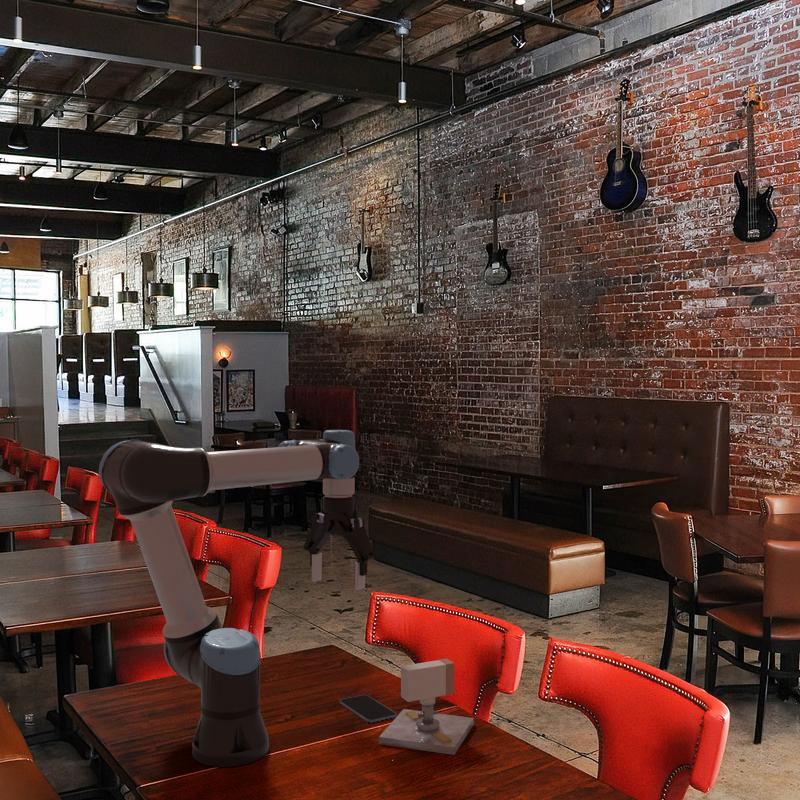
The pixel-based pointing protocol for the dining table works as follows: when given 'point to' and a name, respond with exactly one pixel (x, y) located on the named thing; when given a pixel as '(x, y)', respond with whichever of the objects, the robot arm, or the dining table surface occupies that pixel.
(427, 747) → the socket
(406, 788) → the dining table surface
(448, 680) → the grey rectangular block
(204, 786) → the dining table surface
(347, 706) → the smartphone
